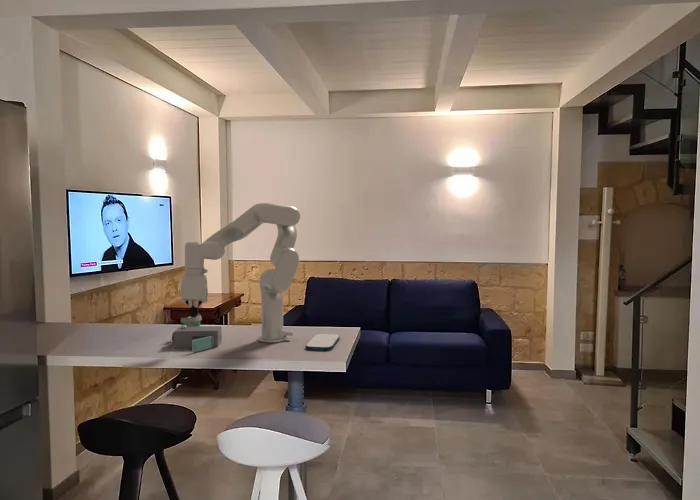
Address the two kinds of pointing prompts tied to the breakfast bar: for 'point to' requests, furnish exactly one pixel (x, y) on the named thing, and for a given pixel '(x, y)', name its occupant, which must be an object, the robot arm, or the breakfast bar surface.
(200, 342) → the side door
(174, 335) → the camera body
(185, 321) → the food container
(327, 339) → the external hard drive
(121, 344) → the breakfast bar surface
